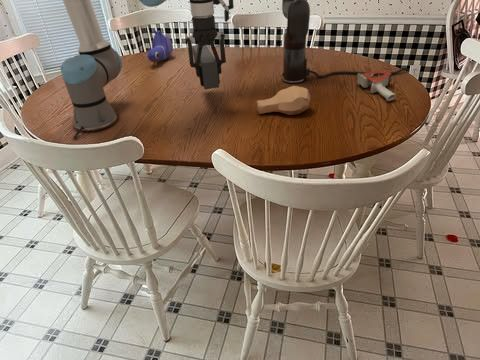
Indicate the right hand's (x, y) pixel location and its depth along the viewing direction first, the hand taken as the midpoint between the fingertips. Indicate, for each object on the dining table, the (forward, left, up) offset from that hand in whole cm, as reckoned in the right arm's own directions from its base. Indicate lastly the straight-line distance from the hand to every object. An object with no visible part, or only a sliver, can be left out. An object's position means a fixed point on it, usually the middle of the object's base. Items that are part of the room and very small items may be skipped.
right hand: (215, 22), depth 135 cm
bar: (+7, +8, -18) cm, 21 cm away
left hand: (+8, +16, -17) cm, 25 cm away
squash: (-16, +29, -28) cm, 43 cm away
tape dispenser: (-58, +25, -28) cm, 69 cm away
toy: (+19, -53, -28) cm, 63 cm away
